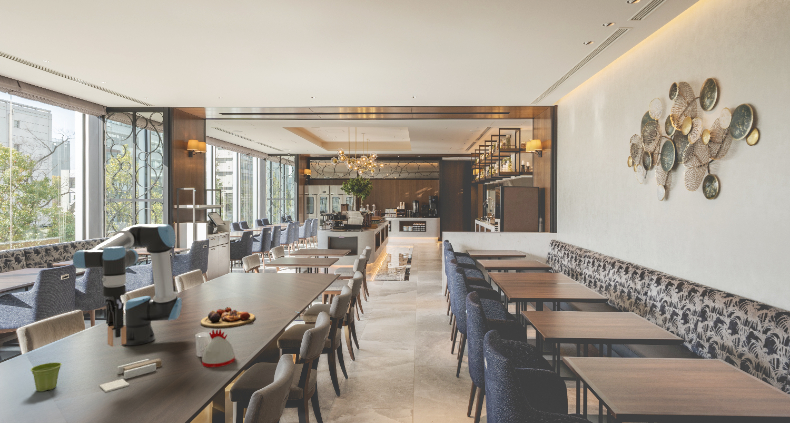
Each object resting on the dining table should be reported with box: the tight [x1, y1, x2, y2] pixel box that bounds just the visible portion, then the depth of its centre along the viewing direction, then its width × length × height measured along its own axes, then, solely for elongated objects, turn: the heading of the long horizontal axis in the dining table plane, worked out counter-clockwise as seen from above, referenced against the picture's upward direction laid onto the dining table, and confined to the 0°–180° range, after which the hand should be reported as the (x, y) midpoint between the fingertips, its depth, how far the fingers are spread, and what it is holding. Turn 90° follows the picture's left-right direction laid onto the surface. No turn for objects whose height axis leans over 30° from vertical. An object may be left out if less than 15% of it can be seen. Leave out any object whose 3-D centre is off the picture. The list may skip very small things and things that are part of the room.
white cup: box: [195, 331, 212, 358], centre depth 203 cm, size 8×8×10 cm
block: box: [107, 324, 126, 348], centre depth 168 cm, size 5×5×7 cm
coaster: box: [99, 378, 130, 393], centre depth 167 cm, size 8×8×1 cm
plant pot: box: [30, 361, 63, 392], centre depth 165 cm, size 9×9×9 cm
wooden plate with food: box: [199, 306, 256, 329], centre depth 263 cm, size 32×32×8 cm
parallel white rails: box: [117, 358, 157, 380], centre depth 181 cm, size 9×12×3 cm
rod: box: [124, 358, 162, 371], centre depth 184 cm, size 3×14×3 cm, turn 139°
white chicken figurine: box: [201, 328, 236, 368], centre depth 194 cm, size 14×14×15 cm
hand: (114, 343), depth 167 cm, fingers closed on block, 5 cm apart
